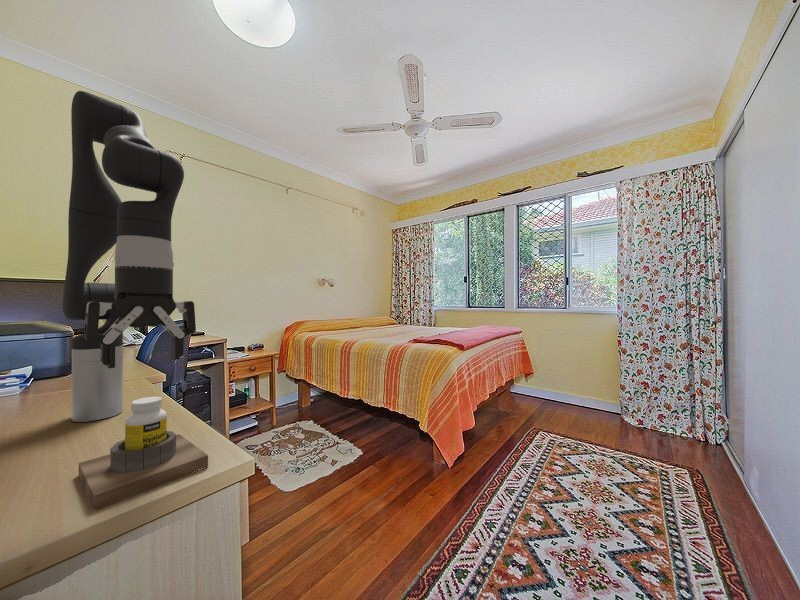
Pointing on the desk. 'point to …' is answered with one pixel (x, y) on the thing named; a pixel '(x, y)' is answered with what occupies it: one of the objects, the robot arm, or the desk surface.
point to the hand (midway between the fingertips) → (144, 363)
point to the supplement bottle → (145, 424)
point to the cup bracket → (138, 469)
